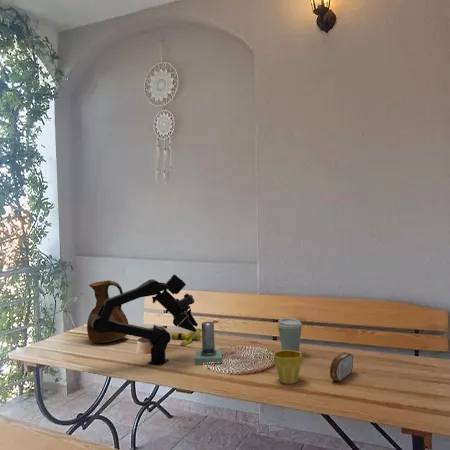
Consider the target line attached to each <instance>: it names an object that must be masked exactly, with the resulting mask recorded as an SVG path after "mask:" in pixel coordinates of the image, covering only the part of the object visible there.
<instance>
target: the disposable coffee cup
mask: <svg viewBox="0 0 450 450" xmlns="http://www.w3.org/2000/svg"><path fill="white" fill-rule="evenodd" d="M302 327H303V323H302V322H301V321H300V320H298V319H294V318H289V317H288V318H287V317H285V318H280V319H278V321H277V329H278V332H279V339H280V345H281V350H294V351H298V352H300V345H301V344H300V343H301V336H302Z"/></svg>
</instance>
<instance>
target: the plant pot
mask: <svg viewBox="0 0 450 450" xmlns="http://www.w3.org/2000/svg"><path fill="white" fill-rule="evenodd" d="M272 358H273V364H274V365H275V366H276V367H275V368H276V372H277V375H278V380H279V383H282V384H286V385H291V384H296V383H298V381H299V377H300V376H299V375H300V371H301V370H300V369H301V365H302V364H303V354H302V352H300V351H299V352H298V351H294V350H282V349H280V350H277V351H275V352H274V353H273V357H272Z"/></svg>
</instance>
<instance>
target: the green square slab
mask: <svg viewBox="0 0 450 450" xmlns="http://www.w3.org/2000/svg"><path fill="white" fill-rule="evenodd" d="M201 351H202V349H201V350H200V349H199V350H196V351H195V355H194V356H195V357H194V365H196V366H198V365H204V364H203V363H207V362H208V363H209V362H222V363H223V350H222V349H215V351H216V355H214V356H202V355H201Z"/></svg>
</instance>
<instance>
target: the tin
mask: <svg viewBox="0 0 450 450" xmlns="http://www.w3.org/2000/svg"><path fill="white" fill-rule="evenodd" d="M353 368H354V356H353V354H351V353H349V352H346V351H344V352H342V353H340V354H338V355H336V356H335V357H333V359H332V361H331V363H330V368H329V377H330V379H331V380H332V381H335V382H341V381H342V380H344V379H346V378H347V377H349V376H350V375H351V374H352V371H353Z"/></svg>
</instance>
